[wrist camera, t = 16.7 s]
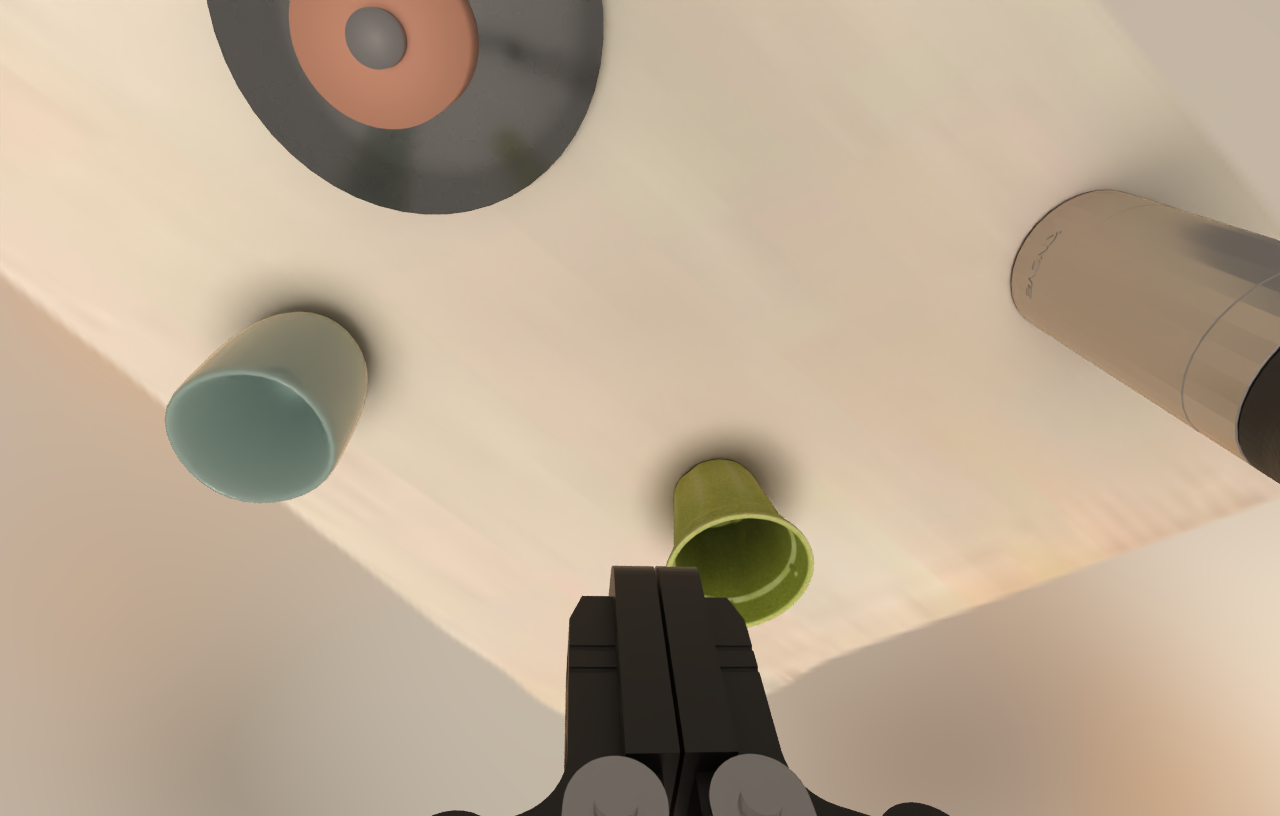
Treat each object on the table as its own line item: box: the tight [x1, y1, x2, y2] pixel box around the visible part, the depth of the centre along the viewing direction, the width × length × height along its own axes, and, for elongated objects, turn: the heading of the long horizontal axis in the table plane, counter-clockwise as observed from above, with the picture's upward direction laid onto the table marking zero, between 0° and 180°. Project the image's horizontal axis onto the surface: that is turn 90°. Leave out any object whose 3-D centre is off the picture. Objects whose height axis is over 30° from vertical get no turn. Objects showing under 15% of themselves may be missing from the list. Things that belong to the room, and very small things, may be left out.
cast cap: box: [289, 0, 479, 129], centre depth 30 cm, size 7×7×6 cm
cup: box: [165, 312, 368, 503], centre depth 38 cm, size 8×8×10 cm
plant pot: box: [666, 459, 814, 628], centre depth 47 cm, size 9×9×9 cm
